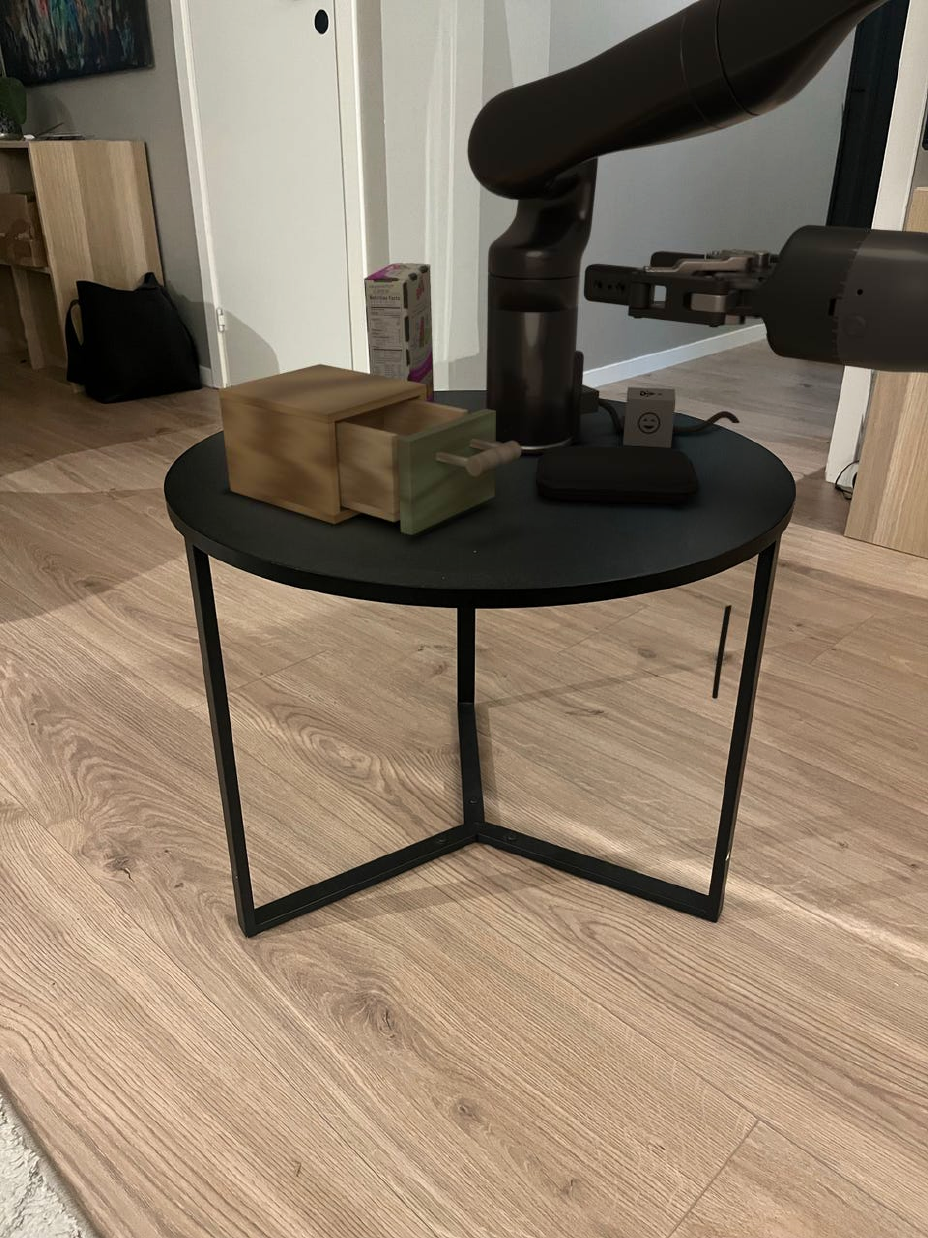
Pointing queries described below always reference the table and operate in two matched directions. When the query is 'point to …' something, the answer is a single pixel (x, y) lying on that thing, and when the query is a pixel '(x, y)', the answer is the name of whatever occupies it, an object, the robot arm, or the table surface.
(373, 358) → the candy bar box
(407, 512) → the drawer
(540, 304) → the robot arm
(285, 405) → the cabinet
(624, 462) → the carrying case
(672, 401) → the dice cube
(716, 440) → the table surface
